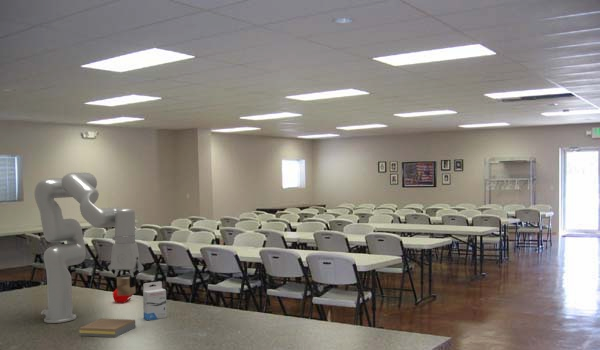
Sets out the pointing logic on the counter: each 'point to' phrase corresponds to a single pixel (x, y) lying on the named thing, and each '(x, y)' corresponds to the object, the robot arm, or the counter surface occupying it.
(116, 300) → the red animal figurine
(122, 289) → the brown wooden block
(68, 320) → the robot arm
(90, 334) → the dock
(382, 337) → the counter surface
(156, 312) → the ink box
